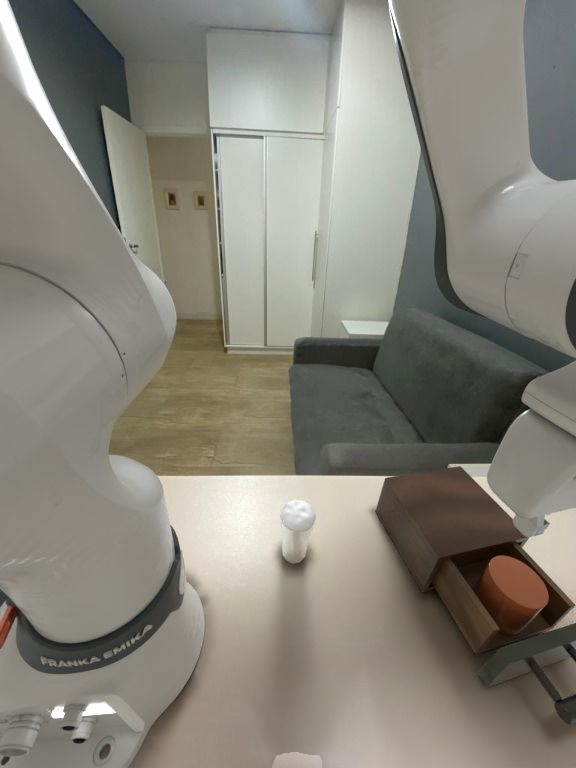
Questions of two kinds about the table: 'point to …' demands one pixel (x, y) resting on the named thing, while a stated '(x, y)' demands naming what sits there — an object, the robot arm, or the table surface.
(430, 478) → the cabinet
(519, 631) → the orange cylinder puck
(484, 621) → the drawer
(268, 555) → the table surface
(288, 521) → the milkshake
